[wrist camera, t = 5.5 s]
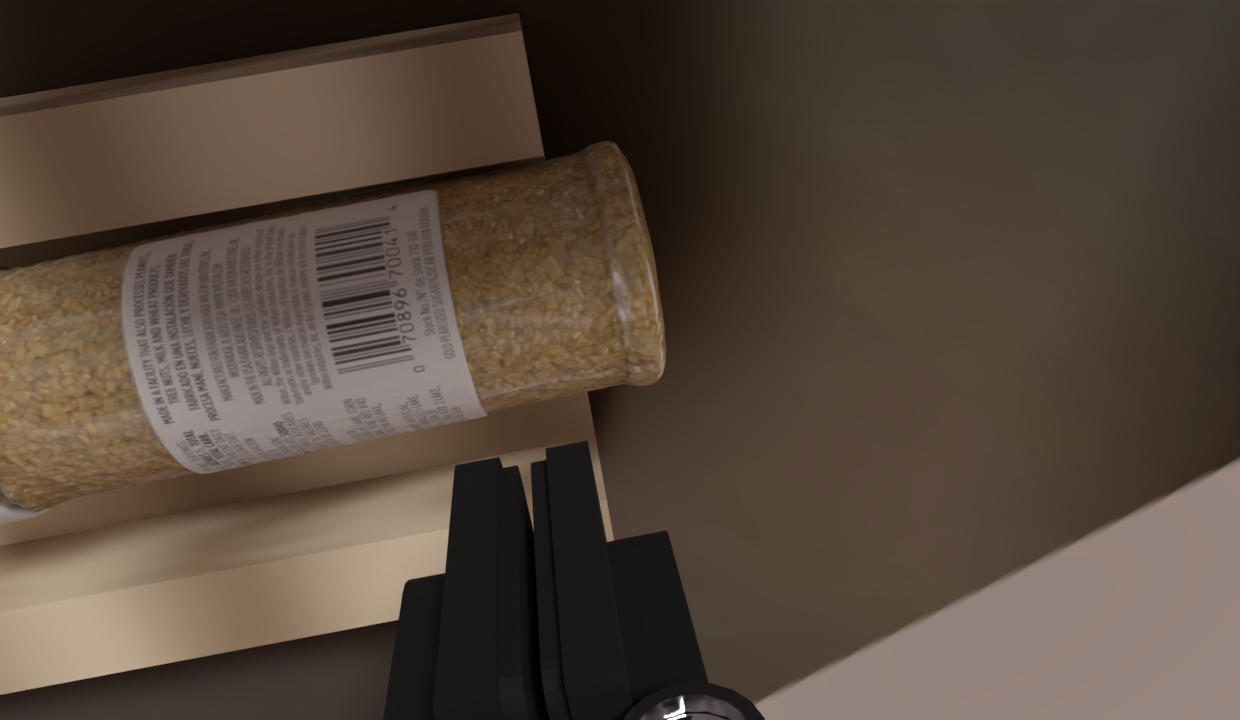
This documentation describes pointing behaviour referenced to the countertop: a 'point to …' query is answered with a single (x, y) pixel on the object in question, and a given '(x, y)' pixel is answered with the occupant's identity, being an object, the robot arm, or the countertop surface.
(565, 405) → the bottle rest
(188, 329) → the sprinkles bottle
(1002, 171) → the countertop surface
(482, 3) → the countertop surface
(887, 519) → the countertop surface
